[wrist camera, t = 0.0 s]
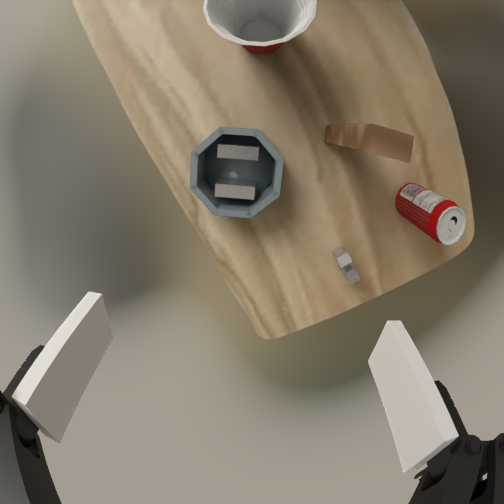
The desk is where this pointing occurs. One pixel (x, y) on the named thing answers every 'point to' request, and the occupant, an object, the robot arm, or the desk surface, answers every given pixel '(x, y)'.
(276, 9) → the plastic cup
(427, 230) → the soda can
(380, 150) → the brown wooden block
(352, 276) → the lighter
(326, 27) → the desk surface
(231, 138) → the grey faceted bowl
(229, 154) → the clip
